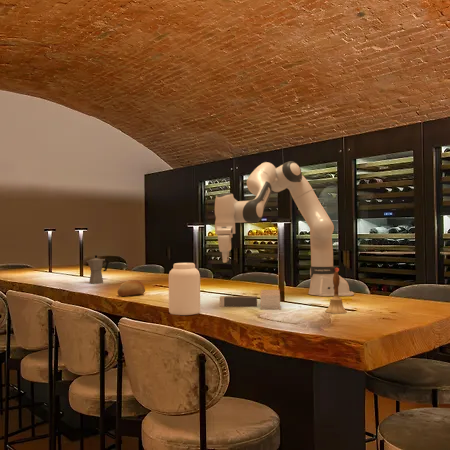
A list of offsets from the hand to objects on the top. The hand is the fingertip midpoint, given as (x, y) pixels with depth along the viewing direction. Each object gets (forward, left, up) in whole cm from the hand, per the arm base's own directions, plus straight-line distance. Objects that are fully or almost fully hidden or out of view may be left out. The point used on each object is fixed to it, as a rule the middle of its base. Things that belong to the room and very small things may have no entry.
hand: (225, 261), depth 226 cm
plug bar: (-5, +1, -19) cm, 20 cm away
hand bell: (-45, +17, -19) cm, 52 cm away
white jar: (+15, +21, -19) cm, 32 cm away
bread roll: (+52, -36, -20) cm, 66 cm away
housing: (-19, +1, -19) cm, 27 cm away
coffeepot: (+93, -101, -19) cm, 139 cm away
